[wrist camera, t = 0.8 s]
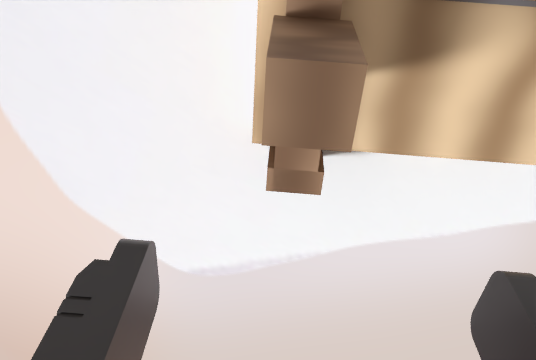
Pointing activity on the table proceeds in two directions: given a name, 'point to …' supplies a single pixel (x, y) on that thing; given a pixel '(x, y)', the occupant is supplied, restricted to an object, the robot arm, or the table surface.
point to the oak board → (436, 77)
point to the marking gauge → (310, 92)
